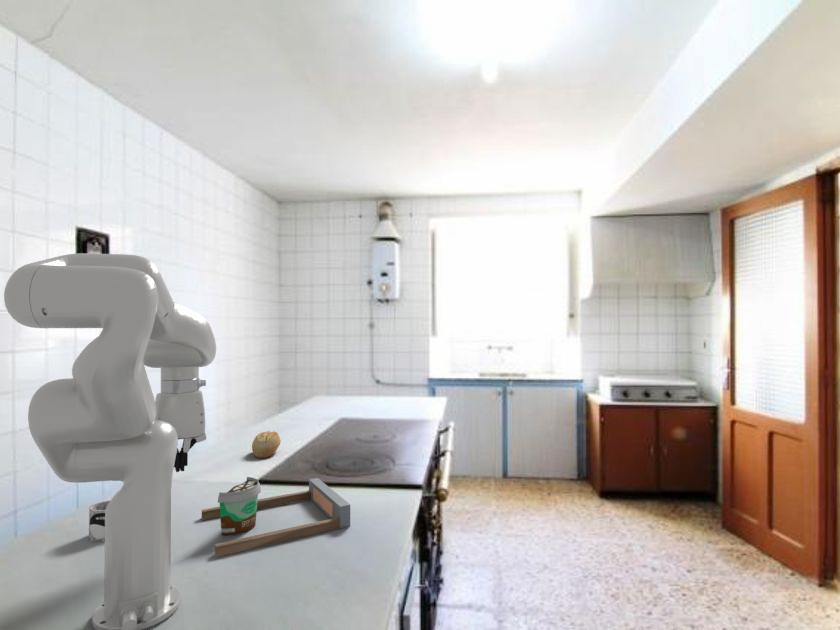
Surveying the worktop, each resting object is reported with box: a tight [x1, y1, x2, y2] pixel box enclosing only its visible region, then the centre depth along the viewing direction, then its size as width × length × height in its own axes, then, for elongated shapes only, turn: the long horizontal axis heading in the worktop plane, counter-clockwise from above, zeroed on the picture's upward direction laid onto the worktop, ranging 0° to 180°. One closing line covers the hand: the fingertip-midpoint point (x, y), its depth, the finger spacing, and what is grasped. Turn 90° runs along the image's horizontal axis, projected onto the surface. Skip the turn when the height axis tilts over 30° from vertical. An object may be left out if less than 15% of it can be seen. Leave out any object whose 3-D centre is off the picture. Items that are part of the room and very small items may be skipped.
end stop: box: [308, 477, 351, 529], centre depth 124 cm, size 23×3×5 cm, turn 31°
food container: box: [217, 476, 262, 537], centre depth 113 cm, size 12×6×10 cm, turn 168°
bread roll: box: [251, 430, 282, 459], centre depth 178 cm, size 10×15×8 cm, turn 8°
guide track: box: [201, 489, 341, 558], centre depth 116 cm, size 23×27×2 cm
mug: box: [88, 499, 111, 542], centre depth 110 cm, size 10×7×7 cm
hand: (179, 469), depth 107 cm, fingers closed
